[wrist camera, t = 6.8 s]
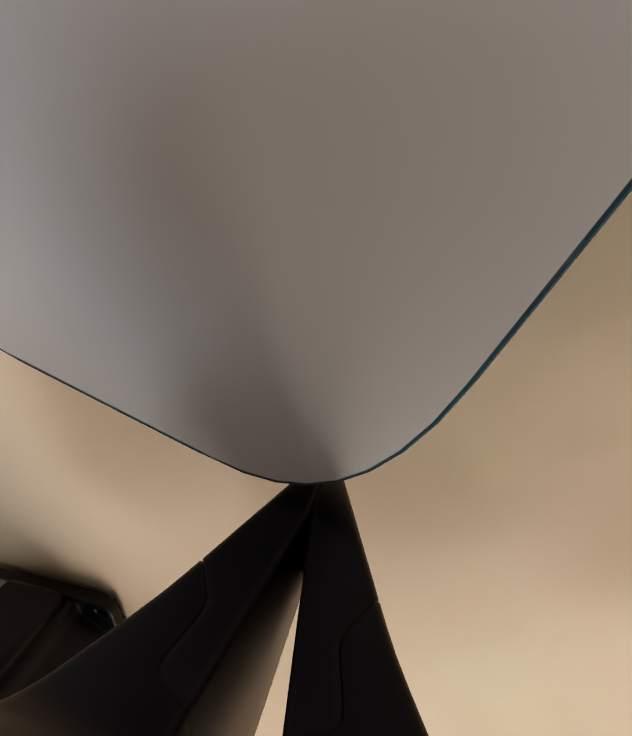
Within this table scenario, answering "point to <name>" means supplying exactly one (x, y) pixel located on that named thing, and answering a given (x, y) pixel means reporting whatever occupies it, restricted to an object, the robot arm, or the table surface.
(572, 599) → the table surface
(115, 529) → the table surface
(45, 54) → the external hard drive
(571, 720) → the table surface
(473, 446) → the table surface
